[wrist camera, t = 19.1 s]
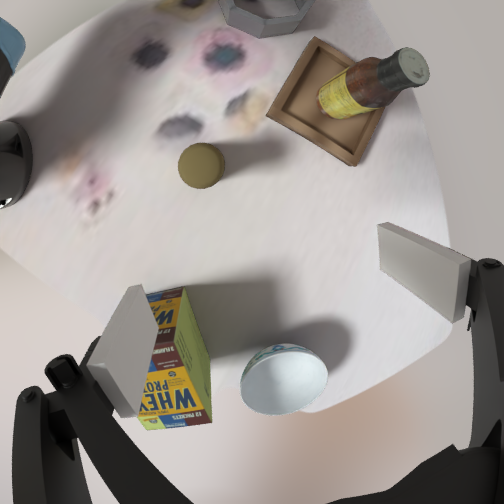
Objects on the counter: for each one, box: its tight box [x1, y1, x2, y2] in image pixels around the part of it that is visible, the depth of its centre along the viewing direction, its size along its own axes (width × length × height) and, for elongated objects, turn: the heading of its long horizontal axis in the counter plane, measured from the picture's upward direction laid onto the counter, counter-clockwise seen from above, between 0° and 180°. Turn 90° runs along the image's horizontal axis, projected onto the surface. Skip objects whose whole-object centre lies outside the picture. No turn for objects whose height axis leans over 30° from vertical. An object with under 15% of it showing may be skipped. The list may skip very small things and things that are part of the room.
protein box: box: [137, 287, 212, 430], centre depth 40 cm, size 10×15×16 cm
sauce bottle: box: [316, 47, 430, 120], centre depth 29 cm, size 6×6×20 cm
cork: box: [178, 143, 225, 189], centre depth 35 cm, size 6×6×11 cm
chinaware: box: [240, 344, 328, 415], centre depth 48 cm, size 15×15×8 cm
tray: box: [266, 36, 386, 167], centre depth 38 cm, size 15×15×2 cm
